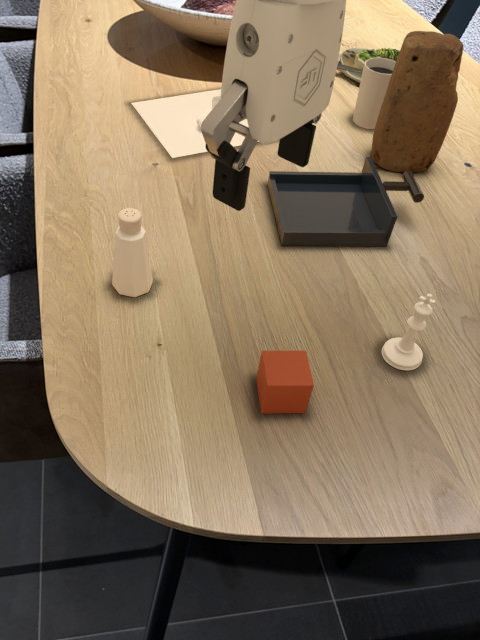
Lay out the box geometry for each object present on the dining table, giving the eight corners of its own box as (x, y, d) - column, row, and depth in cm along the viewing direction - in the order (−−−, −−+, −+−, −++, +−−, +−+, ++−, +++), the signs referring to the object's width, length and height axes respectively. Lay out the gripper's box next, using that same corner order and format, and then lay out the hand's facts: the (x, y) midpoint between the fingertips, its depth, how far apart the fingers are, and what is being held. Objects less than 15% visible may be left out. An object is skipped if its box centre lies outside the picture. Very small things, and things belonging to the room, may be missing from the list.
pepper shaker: (150, 269, 82) (149, 199, 73) (155, 296, 78) (155, 226, 70) (110, 271, 81) (105, 201, 72) (113, 299, 77) (108, 228, 69)
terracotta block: (298, 378, 71) (306, 350, 67) (305, 413, 67) (314, 385, 64) (255, 379, 70) (261, 350, 66) (261, 413, 67) (267, 385, 63)
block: (366, 168, 101) (403, 42, 86) (368, 146, 106) (403, 22, 91) (431, 179, 100) (481, 53, 85) (430, 156, 105) (477, 33, 90)
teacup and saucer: (204, 137, 105) (205, 114, 102) (186, 116, 109) (187, 93, 106) (248, 129, 107) (251, 107, 104) (229, 108, 112) (231, 86, 109)
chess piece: (387, 335, 76) (412, 274, 68) (425, 349, 75) (456, 289, 67) (376, 361, 73) (402, 300, 65) (416, 376, 72) (447, 316, 64)
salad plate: (334, 92, 119) (340, 68, 115) (321, 53, 130) (326, 30, 127) (430, 96, 120) (439, 73, 116) (409, 58, 131) (416, 35, 128)
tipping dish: (393, 186, 98) (405, 153, 94) (422, 246, 88) (436, 213, 84) (267, 184, 96) (272, 151, 92) (281, 245, 87) (288, 211, 82)
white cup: (390, 130, 110) (408, 74, 102) (355, 130, 109) (370, 74, 102) (380, 112, 114) (396, 57, 107) (346, 112, 114) (360, 57, 106)
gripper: (265, 7, 36) (235, 241, 49) (403, -49, 45) (346, 161, 58) (171, -27, 39) (166, 203, 52) (318, -74, 48) (282, 132, 61)
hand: (261, 181), depth 55 cm, fingers open, 9 cm apart
